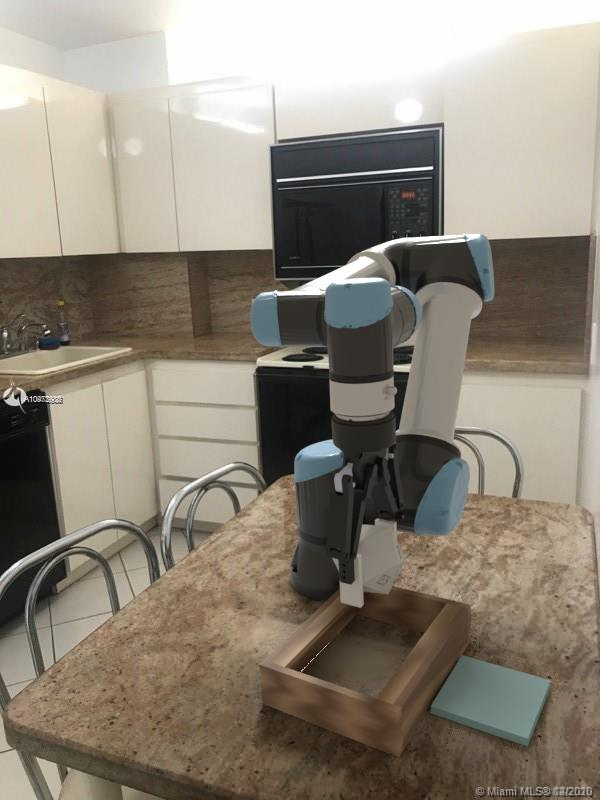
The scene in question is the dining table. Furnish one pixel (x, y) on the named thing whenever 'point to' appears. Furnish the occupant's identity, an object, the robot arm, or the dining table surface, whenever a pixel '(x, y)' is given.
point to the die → (378, 558)
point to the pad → (492, 699)
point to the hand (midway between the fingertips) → (370, 584)
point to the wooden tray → (402, 696)
